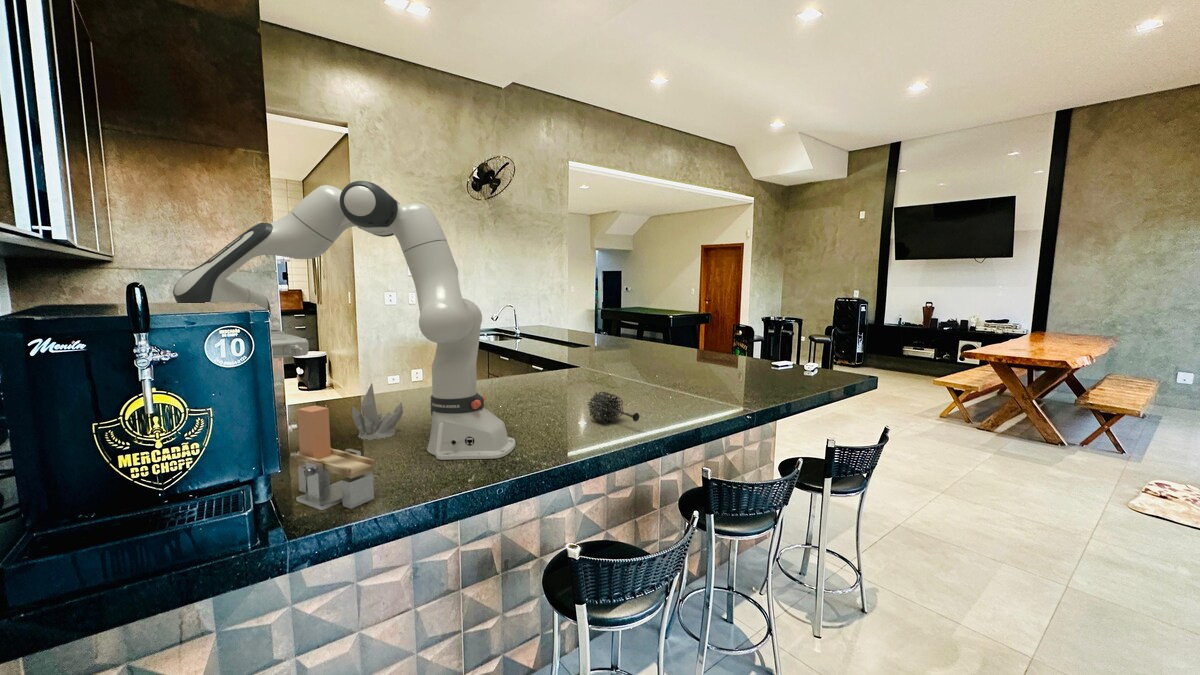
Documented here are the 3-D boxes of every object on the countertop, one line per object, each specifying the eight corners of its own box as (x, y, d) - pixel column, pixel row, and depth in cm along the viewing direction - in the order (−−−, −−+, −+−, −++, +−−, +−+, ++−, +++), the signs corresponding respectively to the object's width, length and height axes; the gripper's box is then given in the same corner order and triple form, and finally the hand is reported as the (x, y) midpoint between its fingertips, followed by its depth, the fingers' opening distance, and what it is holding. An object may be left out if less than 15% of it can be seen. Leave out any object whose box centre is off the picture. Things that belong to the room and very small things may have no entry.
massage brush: (624, 435, 137) (624, 403, 136) (578, 418, 154) (578, 390, 153) (647, 430, 143) (648, 399, 142) (600, 414, 160) (601, 386, 159)
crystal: (406, 435, 135) (405, 383, 133) (354, 443, 128) (351, 388, 126) (401, 426, 143) (399, 377, 142) (351, 433, 136) (349, 381, 135)
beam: (293, 463, 97) (293, 454, 97) (323, 454, 102) (323, 445, 102) (347, 480, 89) (346, 469, 89) (376, 469, 94) (376, 459, 94)
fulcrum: (282, 497, 95) (280, 458, 94) (337, 477, 105) (335, 442, 104) (334, 516, 87) (332, 474, 87) (387, 492, 97) (386, 455, 97)
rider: (300, 456, 98) (297, 409, 97) (317, 451, 101) (314, 405, 100) (313, 460, 96) (311, 412, 95) (330, 455, 99) (328, 408, 98)
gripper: (185, 335, 99) (220, 343, 93) (288, 330, 117) (322, 336, 111) (186, 365, 100) (220, 375, 94) (288, 355, 118) (322, 363, 112)
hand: (277, 354), depth 102 cm, fingers open, 8 cm apart
